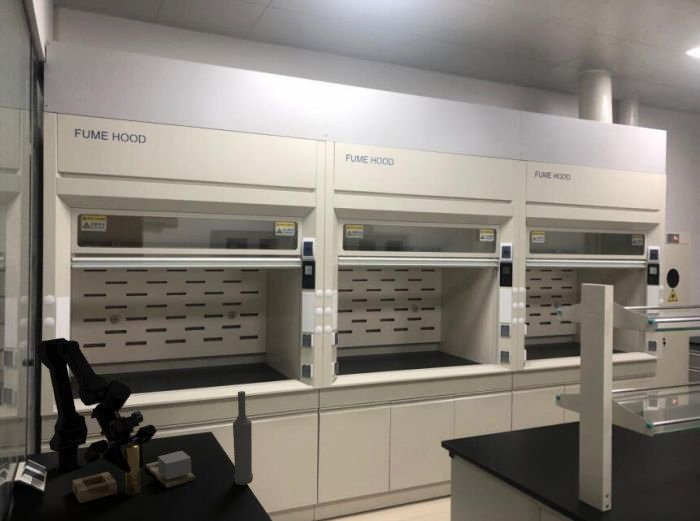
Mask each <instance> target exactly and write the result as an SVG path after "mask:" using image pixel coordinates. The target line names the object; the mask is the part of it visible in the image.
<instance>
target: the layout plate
mask: <svg viewBox="0 0 700 521" xmlns="http://www.w3.org/2000/svg"><path fill="white" fill-rule="evenodd" d="M145 468H146V469H147V471H149V472H150V473H151V474H152V476H153V477H155V478H156V479H157V480H158V481H159V482H160V483H161V484H162V485H163V486H164V487H165V488H166V489H167V488H172V487H175V486H178V485H181V484H185V483H189V482H192V481H195V480H196V476H195V475H194V474H193V473H192V472H191V473H189V474H186V475H182V476H179V477H175V478H171V479H168V480H166V479H165V478H164V477H163V476H162V475H161V474H160V473H159V472H158V461H155V462H151V463H146V464H145Z"/></svg>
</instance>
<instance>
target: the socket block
mask: <svg viewBox="0 0 700 521" xmlns="http://www.w3.org/2000/svg"><path fill="white" fill-rule="evenodd" d="M117 486H118V485H117V481H116V479H115V478H114V477H113V475H111V473H110V472H109V471H105V472H100V473H98V474H93V475H89V476H86V477H85V476H84V477H81V478H77V479H72V492H73V494H74V496H75V498H76V499H77V500H78V503H79V504H83V503H87V502H90V501H93V500H98V499H100V498H103V497H107V496H108V497H109V496H111V495H115V494H117V493H118V490H117V489H118V488H117Z"/></svg>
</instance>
